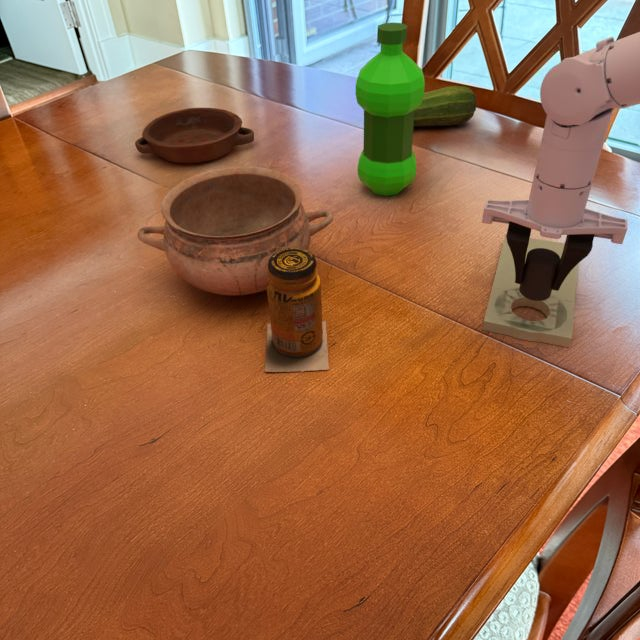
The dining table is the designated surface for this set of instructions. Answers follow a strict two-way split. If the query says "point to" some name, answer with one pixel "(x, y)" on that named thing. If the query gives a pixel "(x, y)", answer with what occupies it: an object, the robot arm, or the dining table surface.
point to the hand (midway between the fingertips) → (536, 282)
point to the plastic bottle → (389, 113)
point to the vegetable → (445, 107)
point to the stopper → (539, 274)
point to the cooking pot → (232, 227)
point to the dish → (194, 135)
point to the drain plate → (531, 302)
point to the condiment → (295, 314)
